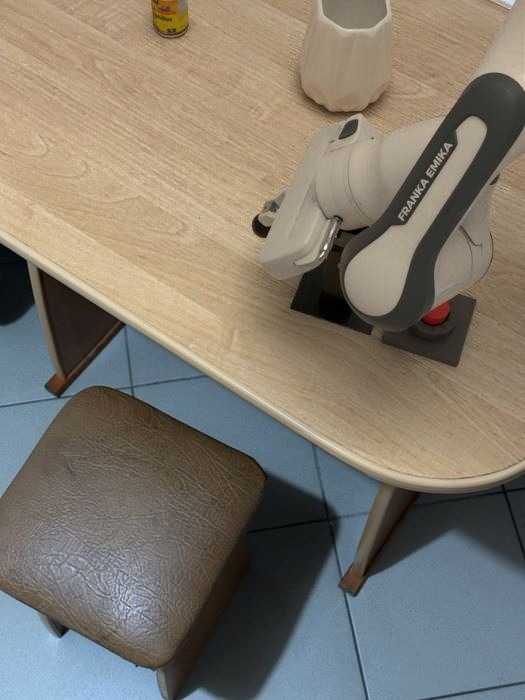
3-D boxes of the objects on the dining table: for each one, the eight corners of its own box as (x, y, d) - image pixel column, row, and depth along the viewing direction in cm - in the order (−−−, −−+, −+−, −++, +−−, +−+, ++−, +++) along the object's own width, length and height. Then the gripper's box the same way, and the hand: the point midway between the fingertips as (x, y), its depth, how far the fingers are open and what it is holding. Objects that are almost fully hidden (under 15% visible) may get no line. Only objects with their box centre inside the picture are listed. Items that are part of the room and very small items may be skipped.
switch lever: (248, 240, 104) (246, 224, 101) (257, 220, 105) (255, 204, 102) (357, 268, 101) (358, 252, 98) (365, 247, 102) (366, 231, 99)
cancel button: (449, 305, 107) (452, 298, 105) (442, 329, 105) (445, 322, 104) (422, 297, 107) (425, 290, 106) (415, 320, 106) (417, 313, 104)
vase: (393, 120, 125) (412, 41, 112) (299, 123, 125) (307, 43, 111) (381, 52, 132) (398, -31, 118) (292, 54, 131) (298, -29, 117)
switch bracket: (289, 312, 110) (296, 254, 97) (310, 259, 114) (320, 196, 101) (369, 339, 108) (386, 283, 96) (388, 283, 112) (407, 223, 100)
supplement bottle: (146, 29, 132) (140, -26, 123) (168, 9, 134) (164, -47, 125) (174, 44, 131) (169, -10, 122) (196, 25, 133) (193, -31, 124)
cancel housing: (472, 307, 111) (480, 292, 107) (454, 371, 107) (462, 357, 103) (400, 284, 112) (405, 268, 109) (379, 346, 108) (384, 331, 104)
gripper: (341, 281, 88) (251, 298, 98) (394, 140, 97) (307, 169, 107) (304, 244, 85) (215, 266, 95) (363, 101, 94) (276, 135, 103)
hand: (265, 213), depth 101 cm, fingers closed
